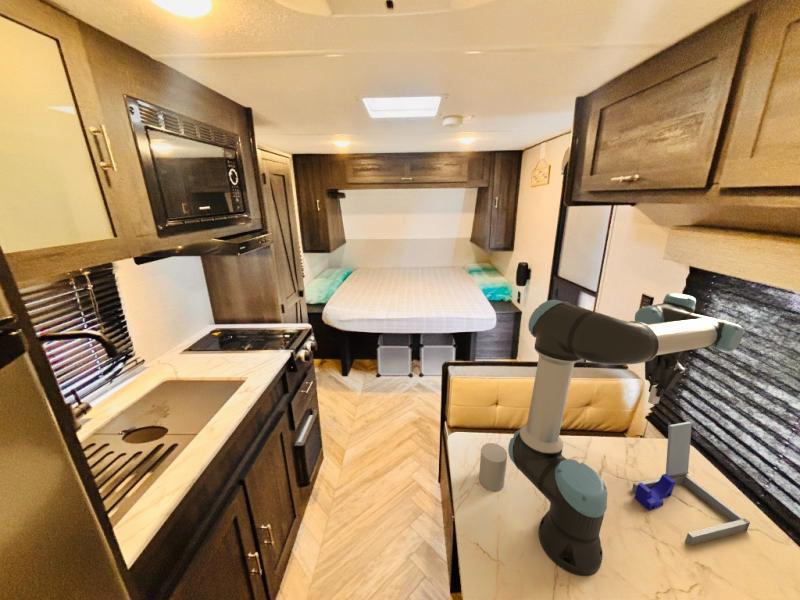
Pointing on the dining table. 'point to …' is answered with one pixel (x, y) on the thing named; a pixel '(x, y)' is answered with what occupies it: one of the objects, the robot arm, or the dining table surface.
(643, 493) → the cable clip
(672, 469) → the cover
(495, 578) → the dining table surface
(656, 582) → the dining table surface
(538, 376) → the robot arm
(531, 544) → the dining table surface
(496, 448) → the gray solid cylinder
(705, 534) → the gray u-shaped frame
